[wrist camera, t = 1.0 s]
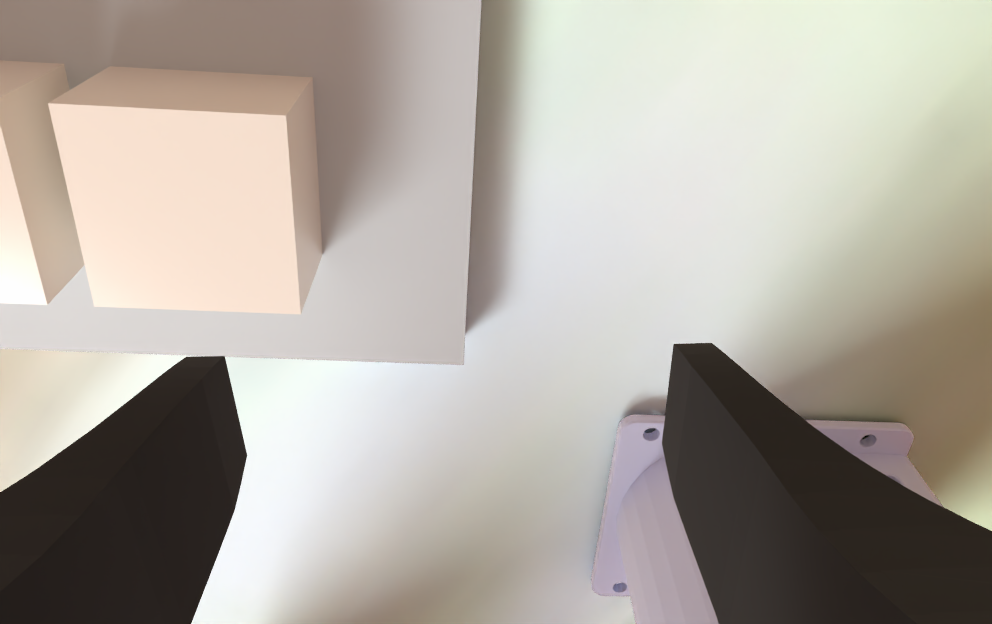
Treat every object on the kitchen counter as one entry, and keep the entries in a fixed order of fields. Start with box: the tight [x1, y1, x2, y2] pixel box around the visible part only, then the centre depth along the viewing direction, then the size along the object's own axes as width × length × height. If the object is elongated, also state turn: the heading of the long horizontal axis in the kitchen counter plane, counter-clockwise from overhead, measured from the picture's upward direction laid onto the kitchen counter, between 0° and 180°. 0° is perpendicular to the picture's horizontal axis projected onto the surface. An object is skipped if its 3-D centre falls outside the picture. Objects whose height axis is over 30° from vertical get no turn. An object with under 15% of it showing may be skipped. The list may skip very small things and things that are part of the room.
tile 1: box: [48, 66, 323, 314], centre depth 18 cm, size 4×4×3 cm
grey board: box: [0, 0, 482, 365], centre depth 19 cm, size 16×11×2 cm
